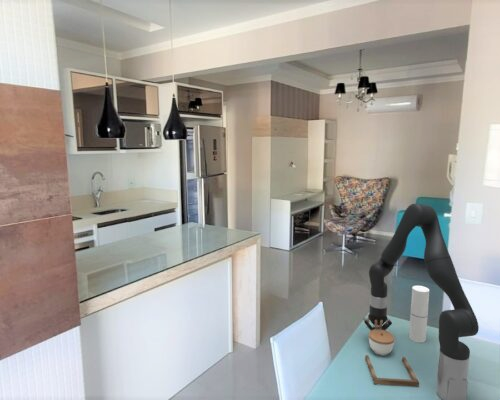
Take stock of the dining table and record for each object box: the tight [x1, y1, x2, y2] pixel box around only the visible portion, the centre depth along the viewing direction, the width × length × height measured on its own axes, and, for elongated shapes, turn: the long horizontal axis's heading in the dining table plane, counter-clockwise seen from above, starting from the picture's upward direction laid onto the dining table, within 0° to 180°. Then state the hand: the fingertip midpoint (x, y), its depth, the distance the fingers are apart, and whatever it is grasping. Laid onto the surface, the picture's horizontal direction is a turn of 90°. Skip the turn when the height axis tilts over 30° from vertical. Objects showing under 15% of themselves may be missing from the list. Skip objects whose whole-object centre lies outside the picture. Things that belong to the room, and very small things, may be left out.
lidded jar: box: [368, 329, 396, 356], centre depth 153 cm, size 11×11×9 cm
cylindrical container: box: [408, 285, 430, 344], centre depth 162 cm, size 7×7×25 cm
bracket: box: [364, 354, 420, 388], centre depth 140 cm, size 16×16×2 cm
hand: (376, 338), depth 162 cm, fingers closed
